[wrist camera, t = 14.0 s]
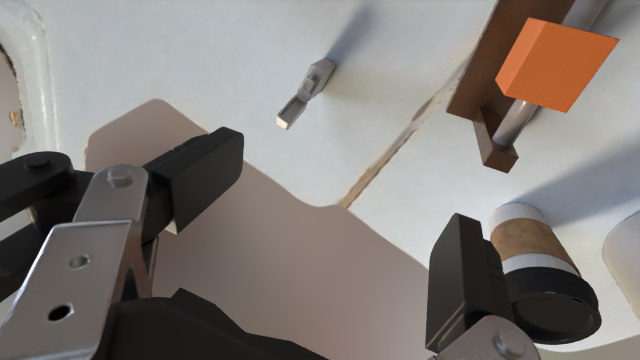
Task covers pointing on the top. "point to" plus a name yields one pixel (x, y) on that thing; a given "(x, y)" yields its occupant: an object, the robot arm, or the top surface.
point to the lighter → (305, 92)
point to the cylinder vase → (625, 259)
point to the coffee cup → (542, 278)
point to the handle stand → (485, 63)
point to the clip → (552, 63)
